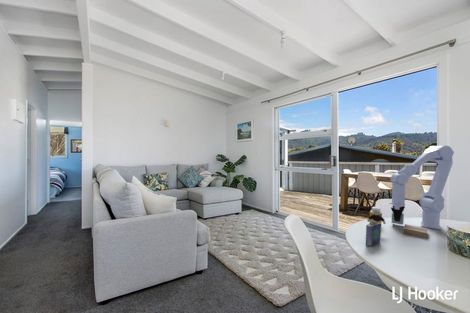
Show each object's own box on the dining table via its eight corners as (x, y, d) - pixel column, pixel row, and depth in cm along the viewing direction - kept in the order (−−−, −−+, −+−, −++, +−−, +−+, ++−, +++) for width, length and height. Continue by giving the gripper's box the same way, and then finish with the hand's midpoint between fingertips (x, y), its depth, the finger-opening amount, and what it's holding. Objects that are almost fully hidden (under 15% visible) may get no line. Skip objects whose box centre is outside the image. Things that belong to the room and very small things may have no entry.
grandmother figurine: (367, 233, 113) (368, 208, 113) (366, 230, 117) (367, 206, 116) (386, 235, 110) (386, 209, 110) (384, 233, 114) (385, 207, 113)
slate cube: (392, 220, 130) (392, 211, 129) (403, 222, 126) (403, 213, 126) (391, 222, 126) (391, 213, 125) (402, 224, 122) (403, 215, 122)
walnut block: (404, 229, 120) (405, 224, 120) (427, 234, 115) (427, 228, 114) (403, 234, 114) (403, 228, 113) (427, 239, 108) (427, 233, 108)
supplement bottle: (378, 228, 120) (378, 209, 120) (367, 225, 125) (367, 207, 125) (383, 226, 123) (384, 208, 123) (372, 224, 128) (373, 205, 128)
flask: (370, 247, 97) (370, 222, 97) (363, 244, 100) (363, 220, 99) (381, 243, 102) (382, 219, 101) (374, 240, 104) (375, 217, 104)
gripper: (391, 192, 134) (390, 215, 134) (388, 196, 122) (387, 221, 123) (406, 194, 129) (405, 218, 130) (404, 198, 118) (403, 224, 118)
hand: (397, 220), depth 126 cm, fingers closed on slate cube, 5 cm apart
